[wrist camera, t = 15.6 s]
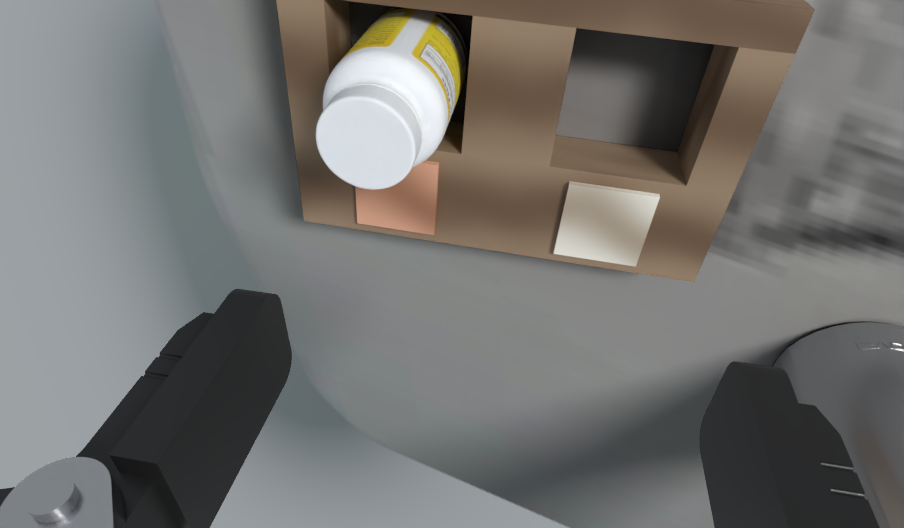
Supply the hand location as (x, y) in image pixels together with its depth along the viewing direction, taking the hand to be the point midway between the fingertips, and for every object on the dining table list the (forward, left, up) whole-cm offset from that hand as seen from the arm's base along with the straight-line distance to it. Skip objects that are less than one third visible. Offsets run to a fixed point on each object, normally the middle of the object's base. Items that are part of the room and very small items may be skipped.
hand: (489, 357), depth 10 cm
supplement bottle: (-3, +6, -22) cm, 23 cm away
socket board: (-5, +1, -22) cm, 22 cm away
